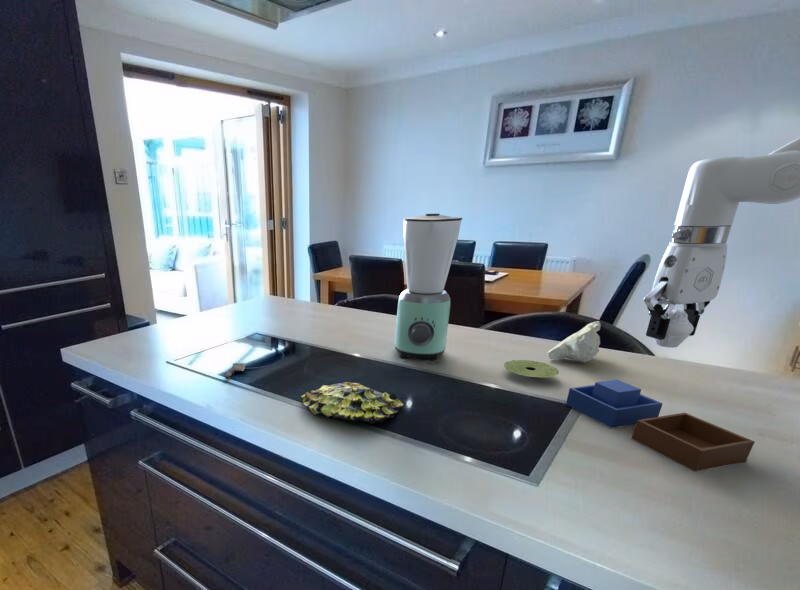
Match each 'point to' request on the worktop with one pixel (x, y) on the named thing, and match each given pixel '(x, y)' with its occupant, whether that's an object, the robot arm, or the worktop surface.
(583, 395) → the blue bin
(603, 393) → the blue block
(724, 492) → the worktop surface
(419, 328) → the blender
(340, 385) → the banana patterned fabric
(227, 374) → the meat cleaver
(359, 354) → the worktop surface
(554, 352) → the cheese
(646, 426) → the brown bin
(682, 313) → the muffin
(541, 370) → the green disc
